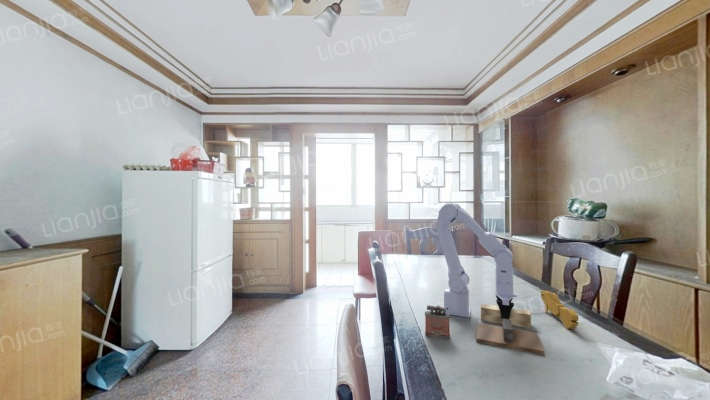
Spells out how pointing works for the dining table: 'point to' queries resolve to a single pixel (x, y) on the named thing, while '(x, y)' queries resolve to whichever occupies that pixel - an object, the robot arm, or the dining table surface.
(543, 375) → the dining table surface
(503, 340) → the ridge stand
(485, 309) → the pine batten
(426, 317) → the lighter
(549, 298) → the decorative fish
